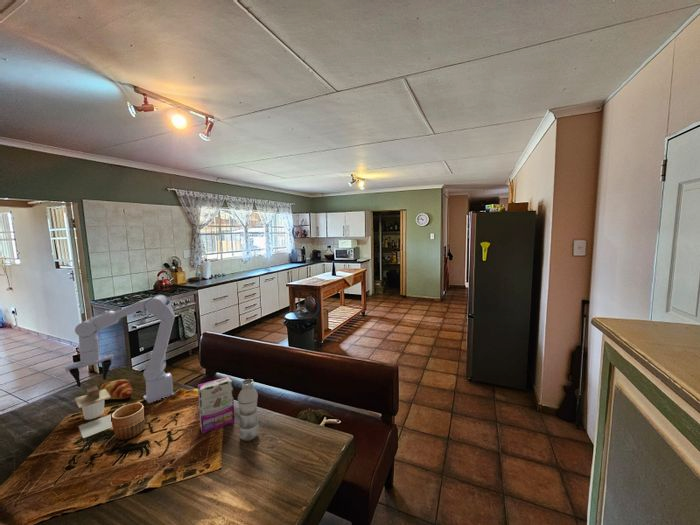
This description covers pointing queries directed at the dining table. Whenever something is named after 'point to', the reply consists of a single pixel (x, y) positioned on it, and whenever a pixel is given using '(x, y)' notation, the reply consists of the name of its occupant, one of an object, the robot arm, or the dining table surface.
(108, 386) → the croissant
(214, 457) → the dining table surface
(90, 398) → the lid
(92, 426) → the mat
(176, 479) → the dining table surface
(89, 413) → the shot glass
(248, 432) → the plastic bottle
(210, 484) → the dining table surface
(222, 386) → the candy bar box
